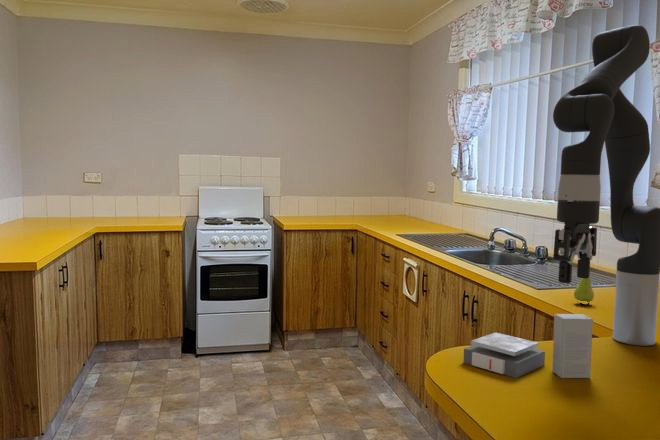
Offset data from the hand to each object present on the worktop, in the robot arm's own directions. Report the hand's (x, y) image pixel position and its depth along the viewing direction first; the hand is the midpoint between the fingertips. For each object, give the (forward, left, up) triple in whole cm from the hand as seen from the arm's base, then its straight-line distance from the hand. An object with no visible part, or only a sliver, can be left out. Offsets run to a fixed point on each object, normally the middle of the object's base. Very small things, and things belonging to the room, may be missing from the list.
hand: (574, 280), depth 107 cm
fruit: (-69, -25, -19) cm, 76 cm away
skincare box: (0, 0, -19) cm, 19 cm away
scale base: (+4, -12, -19) cm, 23 cm away
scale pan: (+4, -12, -16) cm, 20 cm away
